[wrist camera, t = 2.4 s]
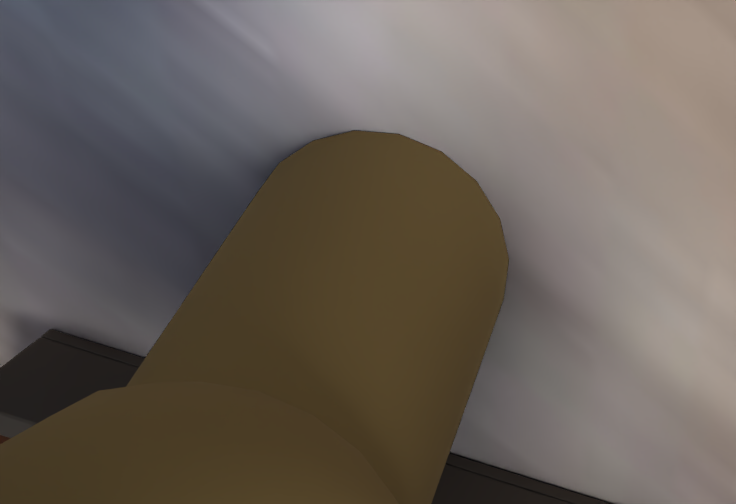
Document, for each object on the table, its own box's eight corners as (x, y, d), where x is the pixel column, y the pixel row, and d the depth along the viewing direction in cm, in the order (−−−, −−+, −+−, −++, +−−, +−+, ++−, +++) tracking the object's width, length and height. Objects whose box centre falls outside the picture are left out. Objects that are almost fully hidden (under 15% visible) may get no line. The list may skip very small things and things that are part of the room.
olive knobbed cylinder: (544, 169, 13) (627, 803, 3) (469, 406, 16) (382, 1167, 6) (260, 100, 14) (-419, 439, 4) (233, 338, 16) (-212, 908, 6)
